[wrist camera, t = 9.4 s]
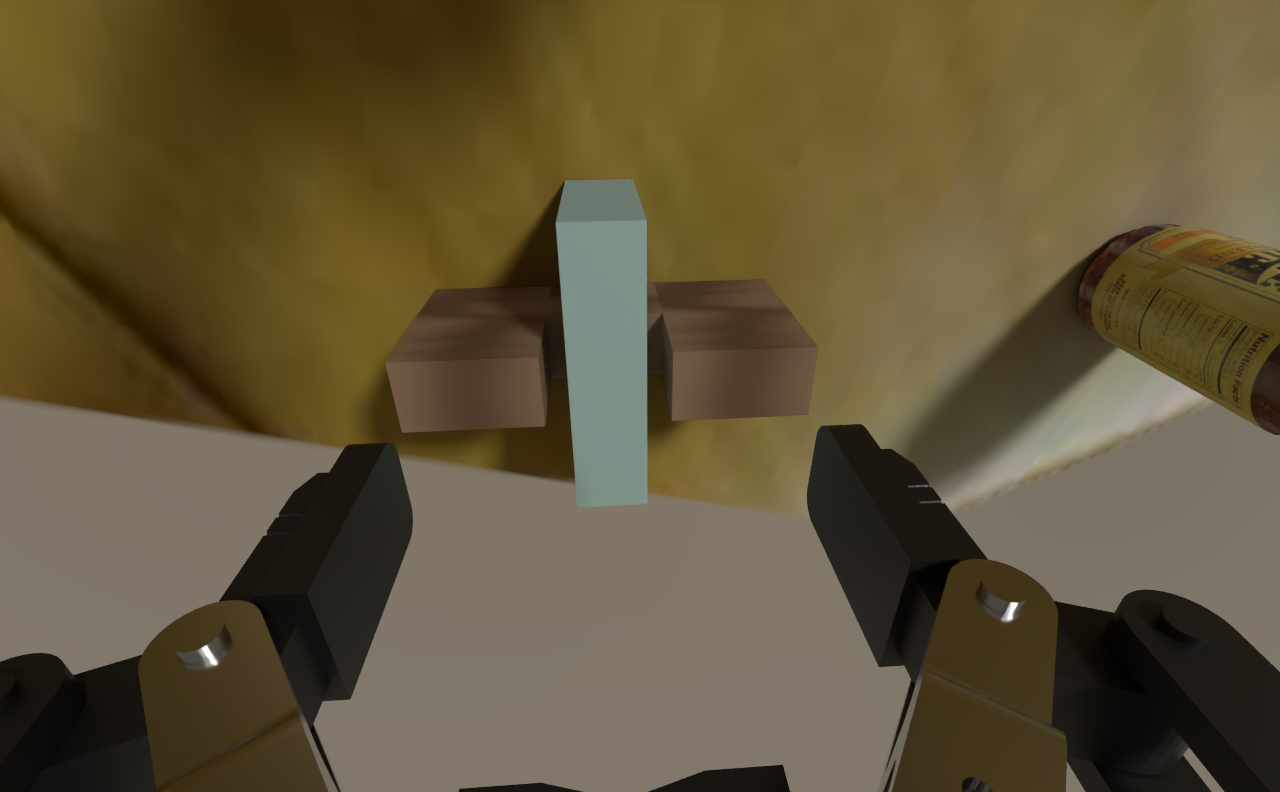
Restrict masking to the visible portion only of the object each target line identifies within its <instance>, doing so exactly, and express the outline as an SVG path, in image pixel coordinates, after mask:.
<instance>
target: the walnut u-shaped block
mask: <svg viewBox="0 0 1280 792" xmlns="http://www.w3.org/2000/svg"><path fill="white" fill-rule="evenodd" d="M817 351H818V346H817V345H816V344H815V342H814V341H813V340H812V339H811V337H810V336H809V335H808V333H807V332H806V331H805V330H804V328H803V327H802V326H801V325H800V323H799V322H798V321H797V320H796V318H795V317H794V316H793V315H792V313H791V312H790V311H789V310H788V308H787V307H786V306H785V305H784V303H783V302H782V301H781V299H780V298H779V297H778V296H777V294H776V293H775V292H774V291H773V289H772V288H771V287H770V286H769V284H768V283H767V282H766V281H765V280H733V281H700V282H668V283H647V375H662V379H663V383H664V388H665V392H666V397H667V401H668V406H669V410H670V415H671V419H672V421H681V420H704V419H727V418H750V417H773V416H796V415H808V410H809V404H810V397H811V391H812V384H813V378H814V371H815V365H816V358H817ZM385 365H386V369H387V373H388V377H389V381H390V385H391V389H392V394H393V398H394V402H395V406H396V410H397V414H398V418H399V422H400V427H401V431H402V433H407V432H430V431H453V430H476V429H499V428H522V427H544V426H545V423H546V416H547V408H548V400H549V392H550V385H551V379H568V377H567V364H566V351H565V338H564V325H563V312H562V299H561V286H536V287H503V288H470V289H437V290H435V291H434V293H433V294H432V296H431V297H430V298H429V300H428V301H427V303H426V304H425V306H424V307H423V309H422V310H421V312H420V313H419V314H418V316H417V317H416V319H415V320H414V322H413V323H412V325H411V326H410V328H409V329H408V330H407V332H406V333H405V335H404V336H403V338H402V339H401V341H400V342H399V344H398V345H397V346H396V348H395V349H394V351H393V352H392V354H391V355H390V357H389V358H388V360H387V361H386V362H385Z"/></svg>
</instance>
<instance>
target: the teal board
mask: <svg viewBox="0 0 1280 792" xmlns="http://www.w3.org/2000/svg"><path fill="white" fill-rule="evenodd" d="M556 233H557V247H558V260H559V273H560V286H561V299H562V312H563V325H564V338H565V351H566V364H567V377H568V391H569V404H570V417H571V430H572V443H573V456H574V469H575V482H576V495H577V507H595V506H614V505H634V504H647V220H646V217H645V214H644V211H643V208H642V205H641V202H640V199H639V196H638V194H637V191H636V188H635V185H634V182H633V179H606V180H565V183H564V188H563V192H562V197H561V201H560V206H559V210H558V214H557V219H556Z"/></svg>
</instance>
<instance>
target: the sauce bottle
mask: <svg viewBox="0 0 1280 792" xmlns="http://www.w3.org/2000/svg"><path fill="white" fill-rule="evenodd" d="M1077 299H1078V301H1077V302H1078V305H1077V309H1078V313H1079V314H1080V316H1081V317H1082V319H1083V320H1084V322H1085V323H1086V324H1087V325H1088V326H1090V327H1091V328H1092V329H1093V330H1094V331H1096V332H1097V333H1099V335H1100V336H1102V337H1103V338H1104V339H1105V340H1106V341H1108V342H1109V343H1111V344H1113V345H1115V346H1117V347H1118V348H1120V349H1122V350H1124V351H1126V352H1127V353H1129V354H1131V355H1133V356H1134V357H1136V358H1138V359H1140V360H1141V361H1143V362H1145V363H1147V364H1148V365H1150V366H1152V367H1154V368H1155V369H1157V370H1159V371H1161V372H1162V373H1164V374H1166V375H1168V376H1170V377H1171V378H1173V379H1175V380H1177V381H1178V382H1180V383H1182V384H1184V385H1186V386H1187V387H1189V388H1191V389H1193V390H1194V391H1196V392H1198V393H1200V394H1202V395H1203V396H1205V397H1207V398H1209V399H1211V400H1212V401H1214V402H1216V403H1218V404H1220V405H1221V406H1223V407H1225V408H1226V409H1228V410H1230V411H1232V412H1234V413H1235V414H1237V415H1239V416H1241V417H1243V418H1244V419H1246V420H1248V421H1250V422H1251V423H1253V424H1255V425H1256V426H1258V427H1260V428H1262V429H1264V430H1265V431H1268V432H1270V433H1272V434H1275V435H1280V250H1278V249H1275V248H1271V247H1267V246H1264V245H1260V244H1256V243H1253V242H1249V241H1245V240H1242V239H1238V238H1235V237H1231V236H1227V235H1224V234H1220V233H1217V232H1213V231H1210V230H1206V229H1203V228H1198V227H1192V226H1179V225H1172V224H1165V225H1153V226H1145V227H1143V228H1140V229H1137V230H1132V231H1130V232H1127V233H1124V234H1122V235H1121V236H1119V237H1118V238H1117V239H1114V240H1113V241H1112V243H1111V244H1110V245H1109V246H1108V247H1107V248H1106V249H1105V250H1103V251H1102V252H1101V253H1100V254H1099V255H1098V256H1097V257H1096V258H1095V259H1094V260H1093V261H1092V263H1091V265H1090V266H1089V268H1088V270H1087V271H1086V273H1085V274H1084V276H1083V279H1082V281H1081V283H1080V288H1079V294H1078V295H1077Z"/></svg>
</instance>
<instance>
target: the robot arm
mask: <svg viewBox="0 0 1280 792" xmlns="http://www.w3.org/2000/svg"><path fill="white" fill-rule="evenodd" d="M807 504H808V511H809V515H810V519H811V521H812V524H813V526H814V528H815V530H816V532H817V534H818V537H819V539H820V541H821V543H822V545H823V547H824V549H825V552H826V554H827V556H828V558H829V560H830V562H831V564H832V566H833V569H834V571H835V573H836V575H837V577H838V580H839V582H840V584H841V586H842V588H843V590H844V593H845V595H846V597H847V599H848V601H849V603H850V606H851V608H852V610H853V612H854V614H855V616H856V618H857V621H858V623H859V625H860V627H861V629H862V631H863V634H864V636H865V638H866V640H867V642H868V644H869V646H870V649H871V651H872V653H873V655H874V657H875V659H876V661H877V664H878V666H879V667H887V666H901V665H902V666H903V665H904V666H905V668H906V669H907V671H908V673H909V675H910V678H911V681H910V683H909V687H908V689H907V692H906V696H905V699H904V703H903V706H902V710H901V713H900V716H899V720H898V723H897V727H896V730H895V734H894V737H893V741H892V744H891V747H890V751H889V754H888V758H887V761H886V765H885V768H884V772H883V775H882V778H881V782H880V785H879V788H878V792H1066V769H1067V762H1068V764H1069V765H1070V767H1071V769H1072V770H1073V772H1074V773H1075V775H1076V777H1077V778H1078V780H1079V782H1080V783H1081V785H1082V787H1083V788H1084V790H1085V791H1086V792H1211V791H1210V789H1209V788H1208V787H1207V786H1206V784H1205V783H1204V782H1203V780H1202V779H1201V778H1200V777H1199V775H1198V774H1197V773H1196V771H1195V770H1194V769H1193V768H1192V766H1191V765H1190V764H1189V762H1188V761H1187V760H1186V759H1185V757H1184V756H1183V754H1184V753H1185V751H1186V750H1187V749H1188V748H1190V749H1191V750H1192V751H1193V753H1194V754H1195V755H1196V756H1197V758H1198V759H1199V760H1200V761H1201V763H1202V764H1203V765H1204V766H1205V768H1206V769H1207V770H1208V771H1209V773H1210V774H1211V775H1212V776H1213V778H1214V779H1215V780H1216V781H1217V783H1218V784H1219V785H1220V786H1221V788H1222V789H1223V790H1224V791H1225V792H1280V672H1279V671H1278V670H1277V669H1276V668H1275V667H1274V666H1273V665H1272V664H1270V662H1269V661H1268V660H1267V659H1266V658H1265V657H1263V656H1262V655H1261V654H1260V653H1259V652H1258V651H1257V650H1256V649H1255V648H1254V647H1253V646H1252V645H1251V644H1250V643H1249V642H1248V641H1247V640H1246V639H1245V638H1244V637H1243V636H1242V635H1241V634H1240V633H1239V632H1238V631H1237V630H1235V629H1234V628H1233V627H1232V626H1231V625H1230V624H1228V623H1227V622H1226V621H1225V620H1223V619H1222V618H1221V617H1219V616H1218V615H1216V614H1215V613H1213V612H1211V611H1210V610H1208V609H1207V608H1204V607H1203V606H1201V605H1199V604H1197V603H1195V602H1193V601H1190V600H1188V599H1186V598H1182V597H1180V596H1177V595H1174V594H1170V593H1167V592H1162V591H1156V590H1137V591H1134V592H1131V593H1129V594H1127V595H1126V596H1125V597H1124V598H1123V599H1122V601H1121V602H1120V604H1119V606H1118V608H1117V609H1116V611H1115V613H1112V612H1107V611H1102V610H1097V609H1092V608H1087V607H1081V606H1076V605H1071V604H1066V603H1061V602H1057V601H1054V600H1053V599H1052V597H1051V596H1050V594H1049V593H1048V592H1047V591H1046V590H1045V588H1044V587H1042V586H1041V585H1040V584H1039V583H1038V582H1037V581H1036V580H1034V579H1033V578H1031V577H1030V576H1029V575H1027V574H1025V573H1024V572H1022V571H1020V570H1018V569H1016V568H1014V567H1012V566H1009V565H1007V564H1004V563H1000V562H997V561H992V560H988V559H987V557H986V556H985V555H984V554H983V552H982V551H981V550H980V548H979V547H978V546H977V545H976V543H975V542H974V541H973V539H972V538H971V537H970V536H969V535H968V533H967V532H966V530H965V529H964V528H963V527H962V525H961V524H960V523H959V521H958V520H957V519H956V518H955V516H954V515H953V514H952V512H951V511H950V510H949V509H948V507H947V506H946V505H945V503H943V504H942V503H941V498H940V497H939V496H938V494H937V493H936V492H935V491H934V489H933V488H932V487H931V488H930V487H929V483H928V482H927V480H926V479H925V478H924V476H923V475H922V474H921V473H920V471H919V470H918V469H917V467H916V466H915V465H914V464H913V463H911V462H910V461H908V460H907V459H905V458H904V457H902V456H901V455H899V454H898V453H896V452H895V451H894V450H892V449H881V448H880V447H879V446H878V444H877V443H876V441H875V440H874V439H873V437H872V436H871V435H870V433H869V432H868V430H867V429H866V428H865V427H864V426H863V425H861V424H854V425H830V426H821V427H820V428H819V430H818V433H817V437H816V442H815V448H814V454H813V460H812V465H811V471H810V477H809V483H808V489H807ZM412 526H413V516H412V508H411V503H410V499H409V495H408V491H407V487H406V483H405V479H404V475H403V472H402V468H401V464H400V460H399V456H398V452H397V450H396V448H395V446H394V445H393V444H392V443H374V444H351V445H347V446H346V447H345V448H344V450H343V451H342V453H341V455H340V456H339V458H338V459H337V461H336V463H335V464H334V466H333V467H332V469H331V470H330V472H329V473H317V474H316V475H315V476H313V477H312V478H311V479H310V480H308V481H307V482H306V483H304V484H303V485H302V486H301V487H299V488H298V489H297V490H295V491H294V492H293V494H292V495H291V496H290V498H289V499H288V501H287V502H286V504H285V505H284V507H283V508H282V510H281V511H280V513H279V518H275V520H274V521H273V523H272V524H271V526H270V527H269V529H268V530H267V536H263V537H262V539H261V541H260V542H259V543H258V545H257V546H256V548H255V549H254V551H253V552H252V554H251V555H250V557H249V558H248V559H247V561H246V563H245V564H244V565H243V567H242V568H241V570H240V571H239V573H238V574H237V576H236V577H235V579H234V580H233V582H232V583H231V585H230V586H229V588H228V589H227V590H226V592H225V593H224V595H223V596H222V598H221V599H220V601H219V602H216V603H212V604H209V605H206V606H203V607H201V608H198V609H195V610H193V611H192V612H189V613H187V614H186V615H184V616H182V617H180V618H179V619H177V620H175V621H174V622H173V623H171V624H170V625H168V626H167V627H166V628H165V629H163V630H162V631H161V632H160V633H159V634H158V635H157V636H156V637H155V638H154V639H153V640H152V641H151V642H150V644H149V645H148V646H147V648H146V649H145V651H144V653H143V654H142V655H140V656H137V657H133V658H130V659H126V660H123V661H120V662H116V663H113V664H109V665H106V666H103V667H99V668H96V669H93V670H89V671H86V672H83V673H79V674H76V675H73V674H72V673H71V672H70V671H69V669H68V668H67V667H66V665H65V664H64V663H63V661H62V660H61V659H59V658H58V657H57V656H54V655H52V654H46V653H33V654H27V655H21V656H17V657H14V658H10V659H7V660H5V661H2V662H0V792H342V790H341V788H340V785H339V783H338V780H337V778H336V776H335V773H334V771H333V768H332V766H331V763H330V761H329V758H328V756H327V754H326V751H325V749H324V746H323V744H322V741H321V739H320V736H319V734H318V732H317V729H316V727H315V725H314V721H315V718H316V716H317V713H318V711H319V709H320V706H321V704H322V701H332V700H348V699H351V696H352V694H353V691H354V688H355V685H356V683H357V680H358V678H359V675H360V672H361V669H362V667H363V664H364V662H365V658H366V656H367V654H368V651H369V648H370V646H371V643H372V640H373V638H374V635H375V632H376V629H377V627H378V624H379V621H380V619H381V616H382V614H383V611H384V608H385V606H386V603H387V600H388V598H389V595H390V592H391V589H392V587H393V584H394V582H395V579H396V576H397V574H398V571H399V568H400V566H401V563H402V560H403V558H404V555H405V552H406V550H407V547H408V544H409V542H410V538H411V534H412ZM459 792H581V791H577V790H572V789H567V788H562V787H558V786H553V785H548V784H544V783H533V784H519V785H506V786H491V787H478V788H466V789H459ZM649 792H790V790H789V787H788V783H787V779H786V775H785V772H784V768H783V765H776V766H761V767H748V768H735V769H721V770H708V771H703V772H701V773H698V774H695V775H692V776H689V777H687V778H684V779H681V780H679V781H676V782H673V783H671V784H668V785H665V786H663V787H660V788H657V789H655V790H652V791H649Z"/></svg>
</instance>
